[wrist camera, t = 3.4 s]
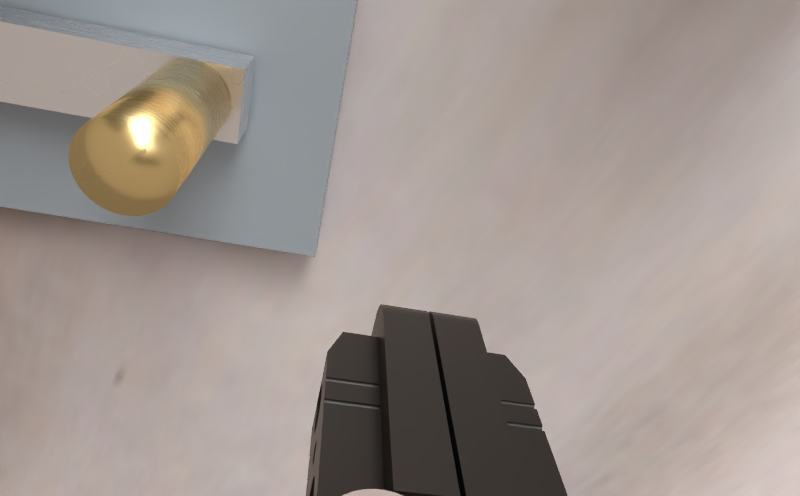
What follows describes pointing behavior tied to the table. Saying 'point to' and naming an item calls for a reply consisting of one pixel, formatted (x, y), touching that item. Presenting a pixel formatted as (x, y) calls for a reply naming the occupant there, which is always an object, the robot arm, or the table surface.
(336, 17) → the door and jamb lock plate
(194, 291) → the table surface
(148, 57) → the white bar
